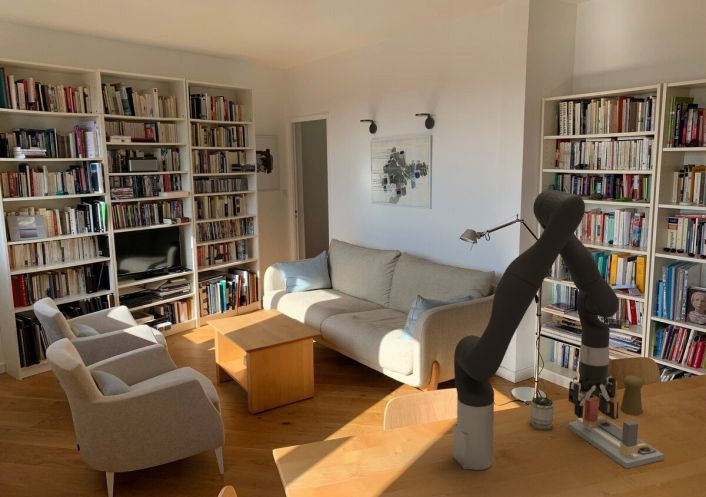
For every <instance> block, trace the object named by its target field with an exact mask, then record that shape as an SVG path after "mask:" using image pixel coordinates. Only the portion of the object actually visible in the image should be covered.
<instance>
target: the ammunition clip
mask: <svg viewBox="0 0 706 497" xmlns="http://www.w3.org/2000/svg"><path fill="white" fill-rule="evenodd" d="M604 388H605V389H606V385H605V386H604ZM610 392H611V390H610ZM618 392H619V391H618V380H616V388H615V397H614V398H610V400H609V401H608V409H607V412H606V413H603V415H605V416H607V417H609V418H610V419H612V420H614V419H618V418H619V401H618V397H619V395H618V394H619V393H618ZM589 398H595V399H597V400H599V399H600V398H601V397H600V396H599V394H598V395H596V394H595V395H592V396H590V397H589ZM598 411H599V403H598Z"/></svg>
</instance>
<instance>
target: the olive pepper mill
mask: <svg viewBox="0 0 706 497" xmlns="http://www.w3.org/2000/svg"><path fill="white" fill-rule="evenodd" d="M623 385H624V386H625V387H624V392H623V395H622V399H621V404H620V405H621V406H620V408H619V409H620V412H622V413H624V414H626V415H629V416H641V415H642V414H643V403H642V391H641V389H642V388H643V386H644V383H643V379H642V378H640V377H639V376H636V375H627V376H625V377H624V379H623Z"/></svg>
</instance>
